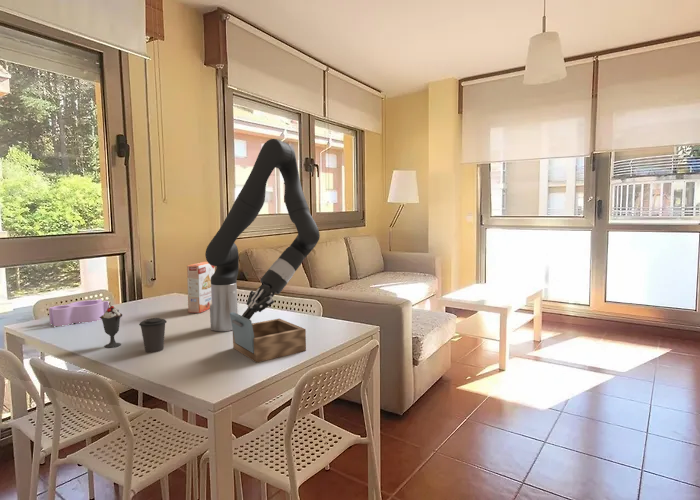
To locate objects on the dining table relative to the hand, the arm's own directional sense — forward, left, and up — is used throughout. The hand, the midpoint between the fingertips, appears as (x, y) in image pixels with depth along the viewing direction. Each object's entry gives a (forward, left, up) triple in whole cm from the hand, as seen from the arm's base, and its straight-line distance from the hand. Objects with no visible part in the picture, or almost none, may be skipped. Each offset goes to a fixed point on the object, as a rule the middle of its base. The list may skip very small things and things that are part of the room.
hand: (243, 319), depth 134 cm
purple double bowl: (-79, +40, -11) cm, 89 cm away
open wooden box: (+6, +5, -11) cm, 14 cm away
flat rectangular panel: (0, 0, -9) cm, 9 cm away
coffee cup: (-31, +4, -11) cm, 33 cm away
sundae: (-47, +8, -11) cm, 49 cm away
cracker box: (-36, +59, -11) cm, 70 cm away
